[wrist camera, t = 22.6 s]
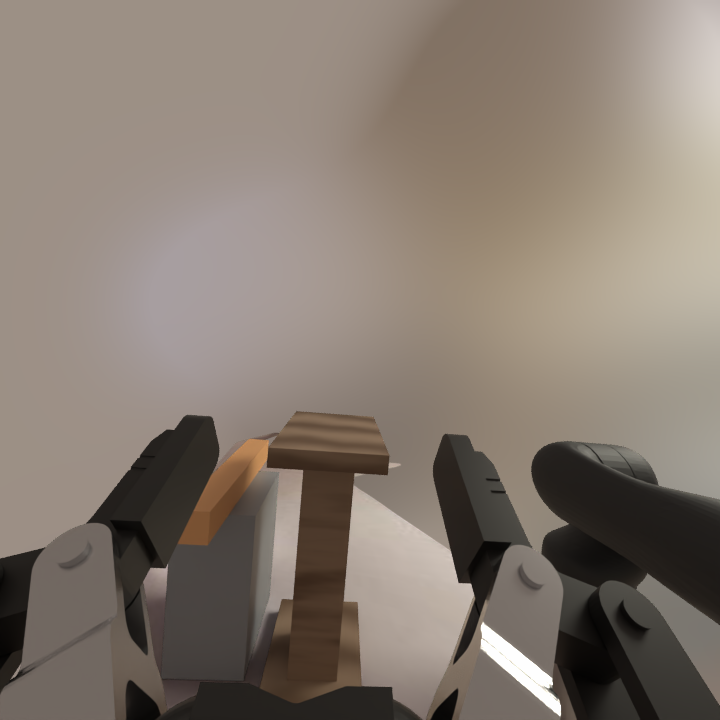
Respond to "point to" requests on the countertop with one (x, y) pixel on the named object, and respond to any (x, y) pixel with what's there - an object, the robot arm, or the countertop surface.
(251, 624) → the grey riser
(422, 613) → the countertop surface
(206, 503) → the orange bar
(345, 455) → the stand
